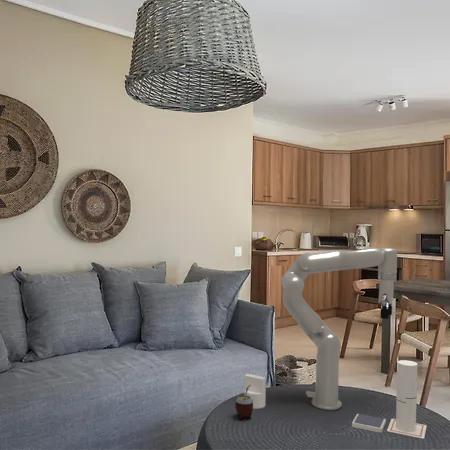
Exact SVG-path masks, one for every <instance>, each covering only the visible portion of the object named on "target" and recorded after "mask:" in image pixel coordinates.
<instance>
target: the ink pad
mask: <svg viewBox="0 0 450 450" xmlns="http://www.w3.org/2000/svg"><path fill="white" fill-rule="evenodd" d="M386 421H387V419H386V418H381V417H377V416H371V415H366V414H362V413H357V414H356V415H355V416H354V418H353V420H352V423H351V427H352V428H354V429H355V428H356V429H360V430H365V431H369V432H374V433H378V434H379V433H380V434H382V433H383V431H384V428H385V426H386V424H387V422H386Z"/></svg>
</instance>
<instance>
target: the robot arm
mask: <svg viewBox="0 0 450 450" xmlns="http://www.w3.org/2000/svg"><path fill="white" fill-rule="evenodd" d="M374 267H377V268H378V269H377V270H378V272H377V280H378V281H379V287H378V304H380V305H381V306H380V319H384V320H385V319H386V320H388V319H389V316H392V315H393V306H392V305H393V301H394V289H395V288H394V285H395V283H394V282H397V277H398V276H397V272H398V271H397V269H398V250H397V249H396V248H392V247H381V248H379V247H377V248H376V247H373V246H366V247H365V246H364V248H361V249H360V250H341V249H340V250H331V251H323V252H322V251H321V252H316V253H315V252H314V253H310V252H304V253H302V254H300V255H299V257H298V258H297V259H296V260H295V261H294V262H293V263H292V265H291V266H290V267H289V268H288V269H287V271H286V272H285V273H284V274H283V275H282V277H281V280H280V281H281V282H280V283H281V287H282V288H283V290H282V303H283V305H284V307H285V309H286V310H287V312H288V313H289V315H290V316H291V318H293V319H294V321H295V322H297V326H299V328H300V329H301V330H302V331H303V333H304V334H305V335H306V336H307V337H308V338H309V339H310V340H311V341H312V342H313V344H315V346H316V347H317V348H316V349H317V351H316V352H317V353H316V359H315V361H316V362H315V391H309V390H306V392H305V395H306V396H307V398H311V405H312V406H314V407H315V408H317V409H319V410H320V409H321V410H326V411H327V410H328V411H334V410H338V409H341V408H342V402H341V400H339V373H340V368H339V367H340V366H339V365H340V354H341V340H340V338H339V336H338V335H337V334H336V333H335V332H334V331H332V330H331V329H330V328H329V326H328V325H327V324H326V323H325V321H323V320H322V318H321V316H320V315H319V314H318V313H317V312H316V311H314V310H313V308H312V307H311V306H310V305H309V304H308V303H307V301H306V300H305V298H304V297H303V291H304V289H305V283H304V281H305V280H306V278H307V277H308V276H309V275H311V274H319V273H320V274H321V273H328V272H329V273H330V272H335V271H346V270H347V271H348V270H355V269H356V270H358V269H359V270H360V269H366V268H374Z"/></svg>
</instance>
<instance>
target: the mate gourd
mask: <svg viewBox="0 0 450 450" xmlns="http://www.w3.org/2000/svg"><path fill="white" fill-rule="evenodd" d="M250 386H251V385H249V386H248V387H247V388H246V393H245V392H244V394H242V395H241V394H240V395H239V396H237V398H236V400H235V405H234V406H235V411H236V417H238V418H239V421H243V420H244V419H248V420H252V414H253V409H254V408H253V400H252V399H251V397H250V396H246V395H247V391H248V388H249V387H250Z"/></svg>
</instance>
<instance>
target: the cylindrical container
mask: <svg viewBox="0 0 450 450" xmlns="http://www.w3.org/2000/svg"><path fill="white" fill-rule="evenodd" d="M396 369H397V370H396V401H395V403H396V405H395V406H396V408H395V409H396V412H395V419H396V428H397V429H399V430H401V431H405V432H414V431H415V430H416V423H417V396H418V394H417V393H418V392H417V391H418V388H417V387H418V363H417V362H415V361H413V360H405V359H401V360H397V368H396Z"/></svg>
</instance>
